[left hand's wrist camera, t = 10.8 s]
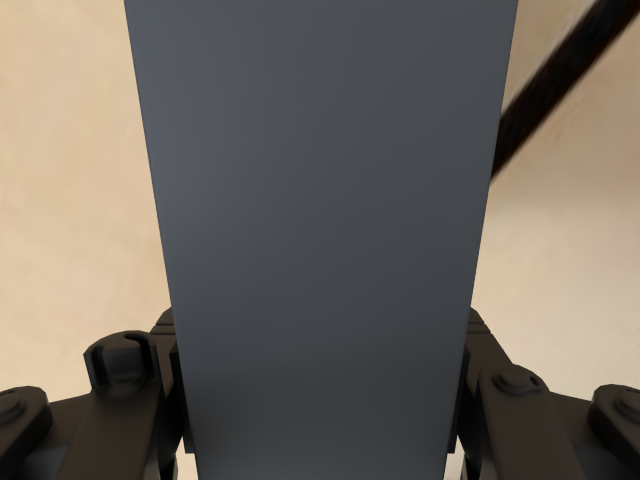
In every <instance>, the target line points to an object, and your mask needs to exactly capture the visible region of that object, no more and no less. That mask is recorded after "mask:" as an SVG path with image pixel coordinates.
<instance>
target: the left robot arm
mask: <svg viewBox="0 0 640 480" xmlns="http://www.w3.org/2000/svg"><path fill="white" fill-rule="evenodd" d="M83 356H84V360H85V364H86V367H87V371H88V375H89V379H90V383H91V387H92V390H91V392H90V393H89V394H85V395H82V396H78V397H73V398H69V399H64V400H60V401H55V402H51V403H49V402H48V398H47V395H46V393H45V392H44V391H43V390H42V389H41V388H39V387H33V386H23V387H15V388H12V389H8V390H5V391H2V392H0V480H177V476H178V466H177V459H176V454H175V453H176V451H177V448H178V446H179V443H180V441H181V438H182V436H183V442H184V448H185V453H194V448H193V441H192V435H191V428H190V422H189V416H188V409H187V403H186V396H185V390H184V384H183V377H182V371H181V364H180V358H179V351H178V345H177V339H176V332H175V326H174V319H173V313H172V307H170V308H169V309H167V310H166V311H165V312H163V314H162V315H161V316H160V318H159V319H158V321H157V322H156V326H154V327H153V328H152V330H151V331H150V333H148V332H144V331H140V330H133V331H123V332H118V333H114V334H111V335H109V336H106V337H104V338H102V339H100V340H98V341H97V342H95V343H94V344H92V345H91V346H89V348H88V349H87V350H86V351H85V353H84V354H83ZM457 435H458V437H459V439H460V442H461V444H462V447H463V450H464V452H465V454H464V459H463V465H462V471H461V476H460V480H640V390H638V389H634V388H632V387H628V386H624V385H615V384H609V385H603V386H600V387H599V388H597V389H596V390H595V391H594V394H593V397H592V401H588V400H583V399H579V398H574V397H570V396H565V395H561V394H557V393H554V392H550V391H549V389H548V387H547V386H546V384H545V383H544V381H543V380H542V379H541V378H540V377H539V376H537V375H536V374H535V373H533V372H532V371H530V370H528V369H526V368H524V367H522V366H519V365H515V364H513V363H512V362H511V360H510V359H509V358H508V356H507V355H506V353H505V352H504V350H503V349H502V347H501V346H500V344H499V343H498V341H497V340H496V339H495V337H494V336H493V334H491V331H490V330H489V328H488V327H487V325H486V324H484V321H483V320H482V318H481V317H480V315H479V314H478V312H477V311H476V310H474V309H473V308H471V307H470V313H469V319H468V325H467V332H466V338H465V345H464V351H463V357H462V364H461V370H460V377H459V383H458V389H457V396H456V402H455V409H454V415H453V421H452V428H451V434H450V441H449V447H448V453H455V447H456V441H457Z"/></svg>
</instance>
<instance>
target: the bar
mask: <svg viewBox="0 0 640 480" xmlns="http://www.w3.org/2000/svg"><path fill="white" fill-rule="evenodd" d="M124 5H125V12H126V18H127V25H128V31H129V37H130V44H131V50H132V57H133V63H134V69H135V76H136V82H137V89H138V95H139V101H140V108H141V114H142V121H143V127H144V134H145V140H146V146H147V153H148V159H149V166H150V172H151V178H152V185H153V191H154V198H155V204H156V210H157V217H158V223H159V230H160V236H161V242H162V249H163V255H164V262H165V268H166V275H167V281H168V287H169V294H170V300H171V307H172V313H173V319H174V326H175V332H176V339H177V345H178V351H179V358H180V364H181V371H182V377H183V384H184V390H185V396H186V403H187V409H188V416H189V422H190V428H191V435H192V441H193V448H194V454H195V460H196V467H197V473H198V480H443V479H444V473H445V466H446V460H447V453H448V447H449V441H450V434H451V428H452V421H453V415H454V409H455V402H456V396H457V389H458V383H459V377H460V370H461V364H462V357H463V351H464V345H465V338H466V332H467V325H468V319H469V313H470V306H471V300H472V293H473V287H474V281H475V274H476V268H477V261H478V255H479V249H480V242H481V236H482V229H483V223H484V217H485V210H486V204H487V197H488V191H489V185H490V178H491V172H492V165H493V159H494V153H495V146H496V140H497V133H498V127H499V121H500V114H501V108H502V101H503V95H504V89H505V82H506V76H507V69H508V63H509V57H510V50H511V44H512V37H513V31H514V25H515V18H516V12H517V5H518V0H124Z"/></svg>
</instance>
